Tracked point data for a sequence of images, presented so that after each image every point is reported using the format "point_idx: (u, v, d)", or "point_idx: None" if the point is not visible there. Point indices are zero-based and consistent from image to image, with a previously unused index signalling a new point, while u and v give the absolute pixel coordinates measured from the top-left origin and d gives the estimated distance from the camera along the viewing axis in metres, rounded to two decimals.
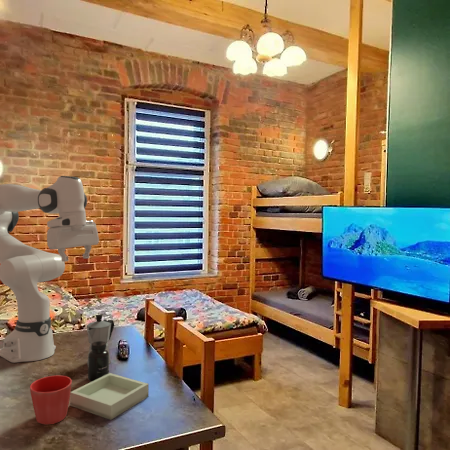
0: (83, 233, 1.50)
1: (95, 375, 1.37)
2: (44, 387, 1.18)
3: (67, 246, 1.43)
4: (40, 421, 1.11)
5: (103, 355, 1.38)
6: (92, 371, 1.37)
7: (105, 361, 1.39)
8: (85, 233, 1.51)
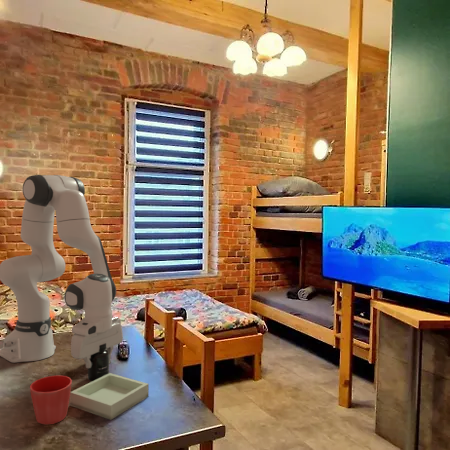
0: (108, 335, 1.42)
1: (95, 375, 1.37)
2: (44, 387, 1.18)
3: (91, 353, 1.35)
4: (40, 421, 1.11)
5: (103, 355, 1.38)
6: (92, 371, 1.37)
7: (105, 361, 1.39)
8: (110, 334, 1.43)
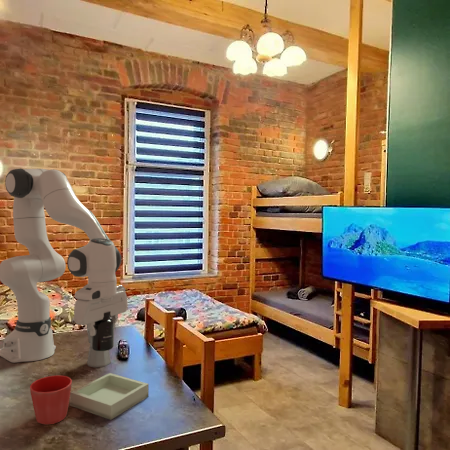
0: (112, 302, 1.36)
1: (100, 344, 1.31)
2: (44, 387, 1.18)
3: (95, 320, 1.29)
4: (40, 421, 1.11)
5: (108, 323, 1.32)
6: (96, 340, 1.31)
7: (110, 329, 1.33)
8: (114, 302, 1.37)
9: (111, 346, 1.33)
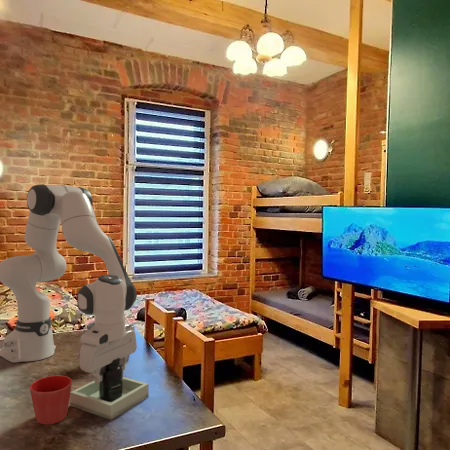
0: (120, 344, 1.26)
1: (108, 394, 1.22)
2: (44, 387, 1.18)
3: (102, 365, 1.19)
4: (40, 421, 1.11)
5: (117, 371, 1.23)
6: (104, 390, 1.22)
7: (119, 378, 1.23)
8: (123, 343, 1.27)
9: (120, 396, 1.24)
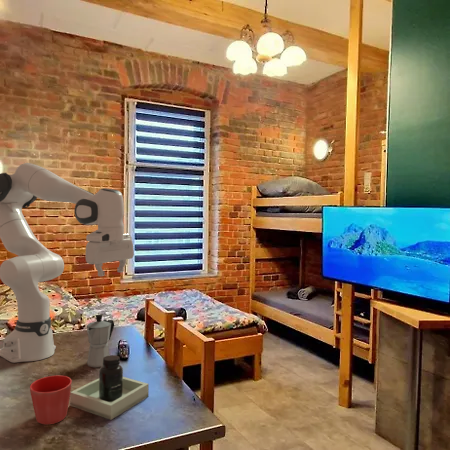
0: (120, 247, 1.48)
1: (108, 394, 1.22)
2: (44, 387, 1.18)
3: (104, 261, 1.42)
4: (40, 421, 1.11)
5: (117, 371, 1.23)
6: (104, 390, 1.22)
7: (119, 378, 1.23)
8: (121, 247, 1.49)
9: (120, 396, 1.24)
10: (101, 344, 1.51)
